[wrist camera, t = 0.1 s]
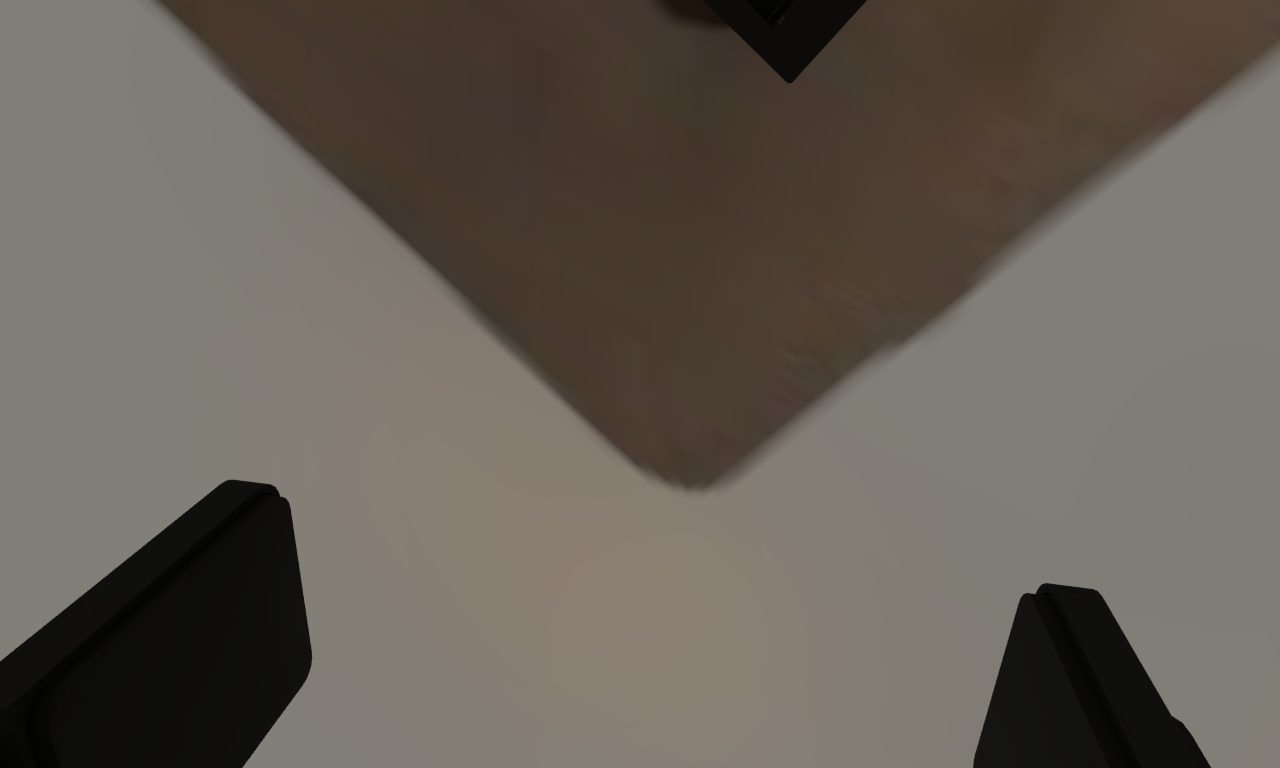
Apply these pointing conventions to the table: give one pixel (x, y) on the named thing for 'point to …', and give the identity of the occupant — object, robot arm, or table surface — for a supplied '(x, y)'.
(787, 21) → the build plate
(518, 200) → the table surface
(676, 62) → the table surface
